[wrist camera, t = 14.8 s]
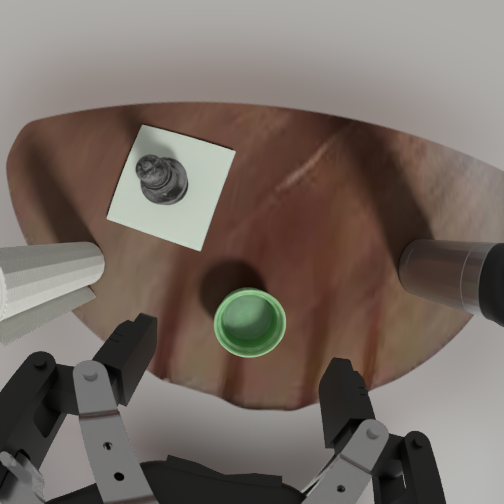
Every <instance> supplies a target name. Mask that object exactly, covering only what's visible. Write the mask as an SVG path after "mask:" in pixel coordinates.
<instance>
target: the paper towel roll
mask: <svg viewBox="0 0 504 504" xmlns="http://www.w3.org/2000/svg"><path fill="white" fill-rule="evenodd" d="M104 266H105V261H104V256H103V254H102V252H101V250H100V248H98V247H97V246H96V245H95V244H94V243H90V242H72V243H57V244H43V245H30V246H17V247H5V248H0V342H1V343H2V345H3V347H5V346H6V345H8V344H10V343H12V342H14V341H15V340H17V339H19V338H21V337H23V336H24V335H26V334H28V333H30V332H31V331H33V330H35V329H37V328H39V327H41V326H43V325H44V324H46V323H48V322H50V321H52V320H54V319H56V318H58V317H59V316H61V315H63V314H65V313H67V312H69V311H71V310H73V309H75V308H77V307H78V306H80V305H82V304H84V303H86V302H88V301H90V300H92V299H94V298H96V296H95V294H94V293H93V292H92V291H91V290H90V289H89V288H88V287H87V285H90V284H92V283H95V282H96V281H97V280H98V279H100V277H101V275H102V273H103V272H104Z"/></svg>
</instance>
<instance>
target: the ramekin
mask: <svg viewBox="0 0 504 504" xmlns="http://www.w3.org/2000/svg"><path fill="white" fill-rule="evenodd" d="M285 328H286V316H285V312H284V310H283V308H282V306H281V304H280V303H279V302H278V301H277V299H276V298H274V297H273V296H272V295H270V294H268V293H266V292H264V291H261V290H259V289H256V288H249V287H247V288H240V289H237V290H234V291H232V292H231V293H230V294H228V295H227V296H226V297H225V298H224V300H223V301H222V303H221V304H220V305H219V307H218V309H217V311H216V313H215V317H214V332H215V335H216V337H217V339H218V341H219V342H220V344H221V345H222V346H223V347H224V348H225V349H226V350H228V351H229V352H231V353H233V354H235V355H238V356H241V357H257V356H261V355H263V354H266V353H268V352H269V351H271V350H272V349H273V348H274V347H276V345H277V344H278V343H279V342H280V340H281V339H282V337H283V335H284V332H285Z"/></svg>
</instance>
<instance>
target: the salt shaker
mask: <svg viewBox="0 0 504 504" xmlns="http://www.w3.org/2000/svg"><path fill="white" fill-rule="evenodd" d="M135 169H136V174H137V176H138V178H139V179H140V185H141V190H142V193H143V195H144V196H145V197H146V198H147V199H148V200H149V201H150V202H152V203H155V204H159V205H173V204H176V203H178V202H179V201H181V200H182V199H183V198H184V196H185V195H186V193H187V190H188V185H189V184H188V178H187V173H186V170H185V168H184V167H183V165H182V164H181V163H180V162H179V161H177V160H176V159H173V158H170V157H162V158H159V157H158V156H156V155H151V154H149V155H145V156H143V157H141V158H140V159H139V160H138V162H137V164H136V168H135Z"/></svg>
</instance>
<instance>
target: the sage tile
mask: <svg viewBox="0 0 504 504" xmlns="http://www.w3.org/2000/svg"><path fill="white" fill-rule="evenodd" d="M235 153H236V151H233V150H230V149H227V148H224V147H221V146H217V145H214V144H211V143H208V142H204V141H201V140H198V139H194V138H191V137H187V136H184V135H180V134H177V133H173V132H169V131H165V130H161V129H158V128H154V127H150V126H145V125H142V126H141V129H140V131H139V133H138V135H137V138H136V140H135V142H134V145H133V147H132V149H131V152H130V154H129V157H128V159H127V162H126V164H125V167H124V169H123V172H122V175H121V177H120V180H119V183H118V186H117V189H116V191H115V194H114V197H113V200H112V203H111V206H110V210H109V213H108V216H107V219H108V220H111V221H114V222H117V223H120V224H123V225H125V226H128V227H131V228H134V229H137V230H140V231H142V232H145V233H148V234H151V235H154V236H157V237H160V238H163V239H166V240H168V241H171V242H174V243H177V244H180V245H183V246H186V247H189V248H192V249H195V250H198V251H201V249H202V246H203V243H204V240H205V237H206V234H207V231H208V228H209V225H210V222H211V220H212V217H213V214H214V211H215V208H216V205H217V202H218V200H219V197H220V194H221V191H222V188H223V186H224V183H225V180H226V177H227V175H228V172H229V169H230V167H231V164H232V161H233V159H234V156H235ZM149 154H151V155H156V156H158V157H159V158H162V157H170V158H173V159H176V160H177V161H179V162H180V163H181V164H182V165H183V167H184V168H185V170H186V173H187V178H188V184H189V185H188V190H187V193H186V195H185V196H184V198H183V199H182V200H181V201H179V202H178V203H176V204H173V205H159V204H155V203H152V202H150V201H149V200H148V199H147V198H146V197H145V196H144V195H143V193H142V190H141V185H140V179H139V178H138V176H137V174H136V169H135V168H136V164H137V162H138V160H139V159H140V158H141V157H143V156H145V155H149Z"/></svg>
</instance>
